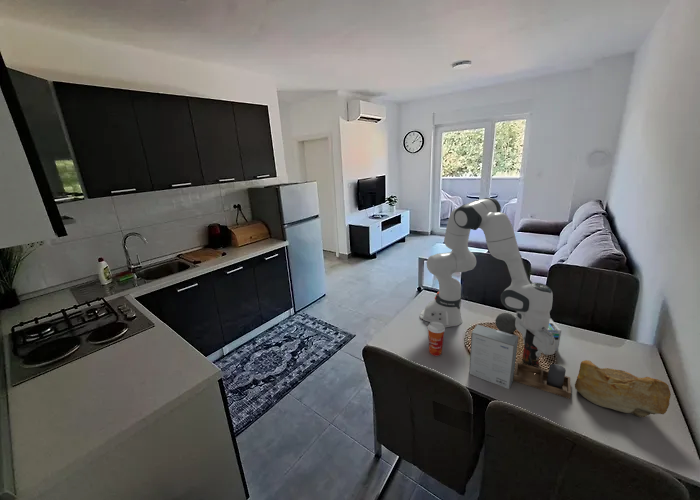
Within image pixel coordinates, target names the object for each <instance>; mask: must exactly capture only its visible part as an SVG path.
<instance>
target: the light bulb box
mask: <svg viewBox="0 0 700 500" xmlns="http://www.w3.org/2000/svg"><path fill="white" fill-rule="evenodd" d="M547 330H548V331H549V332H551V333H552V334H553V337H554V338H555V352H558V351H559V348H560V342H561V336H562V329H561V328H560V327H559V326H558V325H557V324H556V323H555V321H554V320H553V319H552V318H550V321H549V327H548V329H547Z"/></svg>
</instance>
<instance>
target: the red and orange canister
mask: <svg viewBox="0 0 700 500" xmlns="http://www.w3.org/2000/svg"><path fill="white" fill-rule="evenodd" d="M426 328H427V332H428V351H429V354H430V355H432V356H434V357H437V356H440V355H442V353H443V352H442V351H443V343H444V335H445V331H446V328H445V327H444V325H443V324H442V323H439V322H431V323H430V322H429V324H428V325H427V327H426Z"/></svg>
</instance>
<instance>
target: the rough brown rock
mask: <svg viewBox="0 0 700 500" xmlns="http://www.w3.org/2000/svg"><path fill="white" fill-rule="evenodd" d="M574 388H575V390H576V391H577V392H578V394H580V395H581V396H582V397H583V398H584V399H586V400H587V401H589V402H591V403H592V404H594V405H597V406H600V407H602V408H606V409H611V410H614V411H617V412H621V413H625V414H632V415H634V416H637V417H639V418H647V417H648V416H649V415H650V416H651V415H665V414H666V412H667V411H668V409H669V406H670V399H671V396H672V395H671V394H672V393H671V389H670V387H669V384H667V382H664V381H663V380H660V379H657V378H653V377H650V376H645V377H639V376H635V375H634V374H632V373H631V372H627V371H625V370H622V369H615V368H614V369H613V368H609V367H608V368H607V367H605V368H603V367H602V368H601V367H599V366H597V365H596V364H595V363H594V362H592V361H591V360H587V359H585V360H582V361H581V362H580V365H579V371H578V375H577V377H576V381H575V383H574Z"/></svg>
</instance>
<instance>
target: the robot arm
mask: <svg viewBox="0 0 700 500" xmlns="http://www.w3.org/2000/svg"><path fill="white" fill-rule="evenodd" d="M501 208H502V207H501V204H500V201H498V200H497V199H495V198H493V197H484V198H480V199H476V200H472V201H470V202H468V203H466V204H462V205H460V206H459V207H456V208H454V209H453V210H451V212H450V215H449V217H448V219H447V222H446V227H445V228H446V229H445V234H444V239H443V241H444V244H445V246H446V247H447V248H448V249H450V250H451V251H449V252H442V253H440V252H439V253H435V254H433V255H430V256H428V259H427V261H426V268H427V270H428V271H429V273H430V274H432V275H433V276H434V277H435V278H436V279H437V283H438V291H437V293H436V295H435V297H434V299H433V300H432V301H430V302H428V303H427V304H426V306H425V307H424V309H422V311H421V312H420V315H419V318H420V320H422V319H423V320H422V321H425V322H428V323H429V324H430V323H431V322H439V323H442V324H443V325H444V327H445V329H446V328H449V327H457V326H460V325H461V324H462V323H463V318H462V312H461V307H462V296H461V294H462V284H461V282H460V281H459V280H458V279H457V278H454V277H453V274H457V273H466V272H468V271H471V270H474V269H475V267H476V266H477V258H476V256H475V254H474V253H473V252H472V251H470V250H469V246H468V245H469V239H470V238H469V237H470V233H471V230H473V231H477V230H478V229H481V230H482V232H483V234H484V237H485V242H486V246H487V249H488V251H489V254H490V255H491V256H492V257H493V258H495V259H497V260H501V261H503V262H505V264H506V265H507V269H508V273H509V275H510V278H511V283H510V285H509V286H508V287H506V288H505V289H504V290H503V291H502V292H501V294H500V301H501V304H502V305H503V306H504V307H505V308H506V309H508V310H510V311H514V312H515V315H516V316H515V318H516V321H515V327H516V330H517V331H518V332H519V333H520V334H521V335H522V336H521V337H522V340H523V344H524V343H525V336H526V330H527V329H528V330H529V331H530V332H531V333H532V334H533V335H535V336H534V339H533V344H534V345H535V346H536V347H537V350H538V351H535V355H536V356H537V357H539V358H540V357H541V356H542V354H543V355H545V356H550V355H554V354H556V353H555V352H556V351H555V338H554V337H553V334H552V333H551V332H549V331H548V330H547V329H548V327H549V321H550V319H551V315H550V313H551V310H552V307H553V301H554V300H553V299H554V298H553V296H554V294H553V291H552V289H551V288H550V287H549V286H548V285H546V284H544V283H541V282H533V281H532V280H531V279H530V277H529V276H528V273H527V269H526V266H525V264H524V261H523V258H522V255H521V253H520V249H519V246H518V242H517V239H516V237H517V236H516V234H515V229H514V227H513V225H512V223H511V220H510V218H509V216H508V215H507V214H506V213H504V212H502V209H501ZM421 315H422V316H421Z"/></svg>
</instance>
